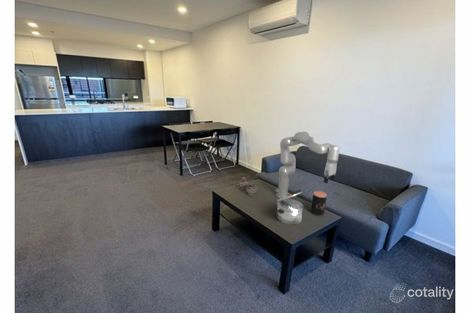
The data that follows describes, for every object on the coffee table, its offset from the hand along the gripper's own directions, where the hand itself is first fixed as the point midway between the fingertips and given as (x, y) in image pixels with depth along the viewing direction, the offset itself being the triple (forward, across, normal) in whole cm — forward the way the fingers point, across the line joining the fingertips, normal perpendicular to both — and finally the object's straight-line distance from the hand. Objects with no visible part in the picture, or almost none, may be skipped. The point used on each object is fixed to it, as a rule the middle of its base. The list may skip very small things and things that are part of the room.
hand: (328, 181), depth 179 cm
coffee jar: (+31, 0, -6) cm, 32 cm away
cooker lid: (+13, +27, -16) cm, 34 cm away
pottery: (+32, +22, -73) cm, 82 cm away
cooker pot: (+31, +27, -15) cm, 44 cm away
